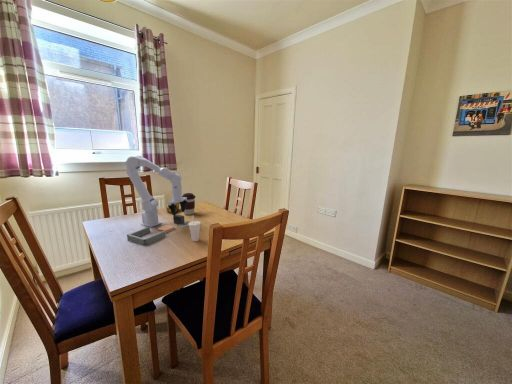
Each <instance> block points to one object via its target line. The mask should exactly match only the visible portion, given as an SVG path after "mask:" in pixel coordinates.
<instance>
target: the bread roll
mask: <svg viewBox="0 0 512 384" xmlns="http://www.w3.org/2000/svg"><path fill="white" fill-rule="evenodd" d="M175 205H177V206H176V213H177V212H178V211H179V210H180V203H175ZM165 209H166V212H167V213H170V214H172V212H171V210H170V208H169V207H168V203H166V207H165Z"/></svg>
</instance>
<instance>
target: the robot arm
mask: <svg viewBox="0 0 512 384" xmlns="http://www.w3.org/2000/svg"><path fill="white" fill-rule="evenodd" d="M125 165H126V175H127V176H128V178H129V179H130V181H131V183H132V185H133V186H134V188H135V191H136V192H137V194H138V195H139V197H140V198H141V205H142V209H143V211H142V213H141V220H142V221H141V222H142V223H141V225H142V226H146V227H149V228H152V227H153V228H154V227H155V226H158V225H161V224H162V221H161V222H160V221H159V212H158V206H159V202H158V201H157V199H155V198H154V196H152V195H151V194H150V192H149V191H148V189H147V187H146V185H145V183H144V181H143V180H142V178H141V176H140V174H139V173H138V172H139V170H140V168H142V167H146V168H148V169H151V170H152V171H155V172H157V173H158V175H159V176H160V177H162V178H164V179H165V180H168V181H170V183H171V194H172V200H170V201H167V203H166V204H168V207H169V208H170V210H171V212H172V213H171V215H172V216H173V215H176V214H177V212H176V206H177V205H175V203H180V204H179V207H180V211H181V213H184V211H185V207H186V204H187V201H186V200H187V197H183V198H182V196H183V191H182V180H183V177H182V175H181V174H180V173H176V171H172V170H170V169H169V168H168V167H161V166H159V165H157V164H155V163H154V162H153V161H150V160H149V159H148V158H145V157H142V156H141V155H134V156H132V155H131V156H129V157H127V159H126V161H125Z"/></svg>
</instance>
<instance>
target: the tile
mask: <svg viewBox="0 0 512 384" xmlns="http://www.w3.org/2000/svg"><path fill="white" fill-rule="evenodd" d="M175 229H176V227H175V226H173V225H170V224H165V225H162V226H159V227H156V231H157V232H158V233H160V232H162V231H165V233H166V234H167V233H169V232H172V231H174V230H175Z"/></svg>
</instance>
